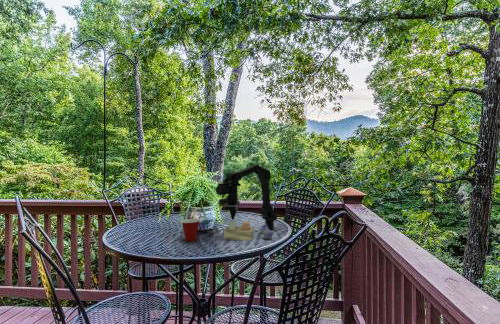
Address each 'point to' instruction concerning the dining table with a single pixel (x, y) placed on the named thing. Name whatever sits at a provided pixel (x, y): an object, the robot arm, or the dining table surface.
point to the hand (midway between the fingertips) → (232, 219)
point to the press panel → (239, 233)
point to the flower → (265, 232)
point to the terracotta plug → (246, 226)
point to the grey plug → (232, 225)
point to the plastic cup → (190, 229)
